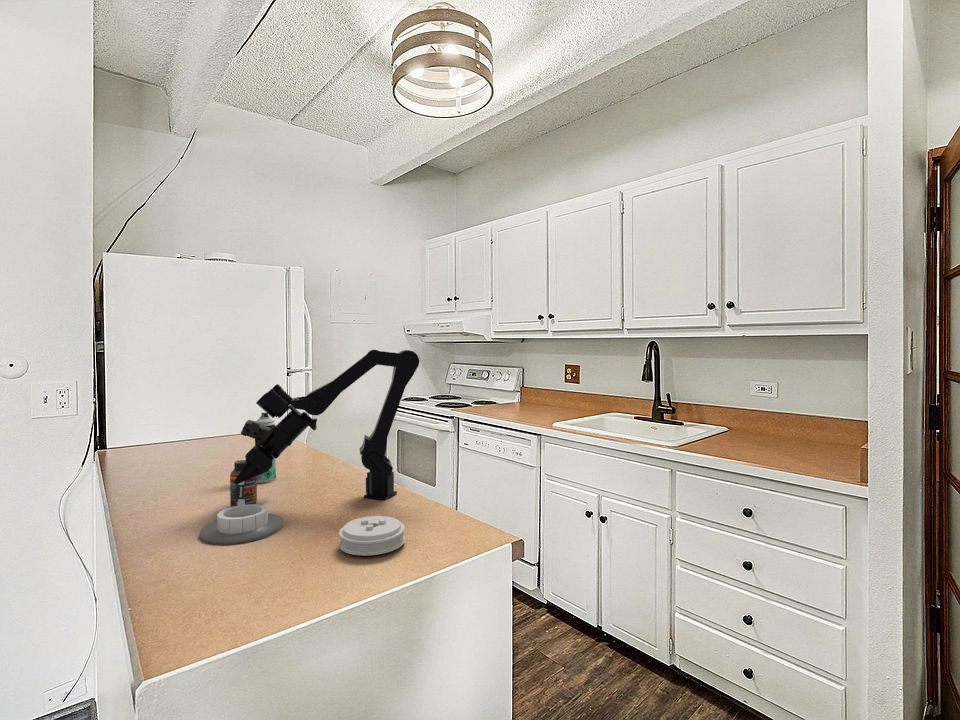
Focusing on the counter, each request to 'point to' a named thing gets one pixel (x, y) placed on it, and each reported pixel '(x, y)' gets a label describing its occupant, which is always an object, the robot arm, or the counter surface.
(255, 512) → the ring mount
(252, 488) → the supplement bottle
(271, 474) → the spray can
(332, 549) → the counter surface
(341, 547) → the lid
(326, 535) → the counter surface
